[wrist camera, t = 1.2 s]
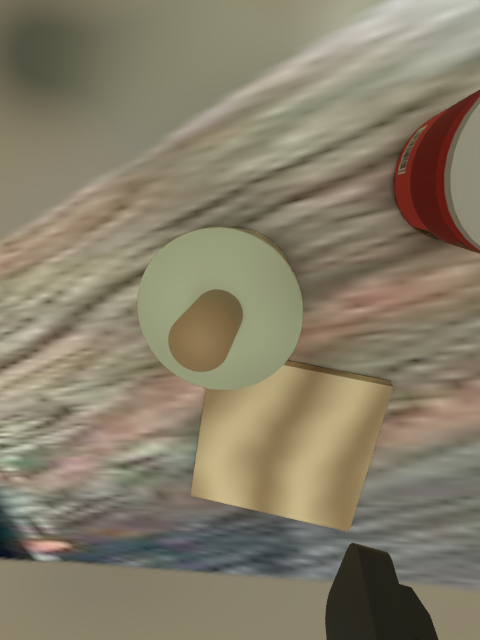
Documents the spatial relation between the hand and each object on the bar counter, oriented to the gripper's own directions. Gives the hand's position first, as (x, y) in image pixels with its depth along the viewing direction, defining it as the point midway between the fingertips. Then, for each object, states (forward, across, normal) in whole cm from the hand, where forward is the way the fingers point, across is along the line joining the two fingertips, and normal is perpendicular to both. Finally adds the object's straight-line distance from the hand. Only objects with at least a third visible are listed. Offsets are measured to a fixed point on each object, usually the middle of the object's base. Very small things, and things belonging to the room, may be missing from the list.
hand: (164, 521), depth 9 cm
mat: (+23, -6, +12) cm, 26 cm away
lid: (+17, +1, 0) cm, 17 cm away
